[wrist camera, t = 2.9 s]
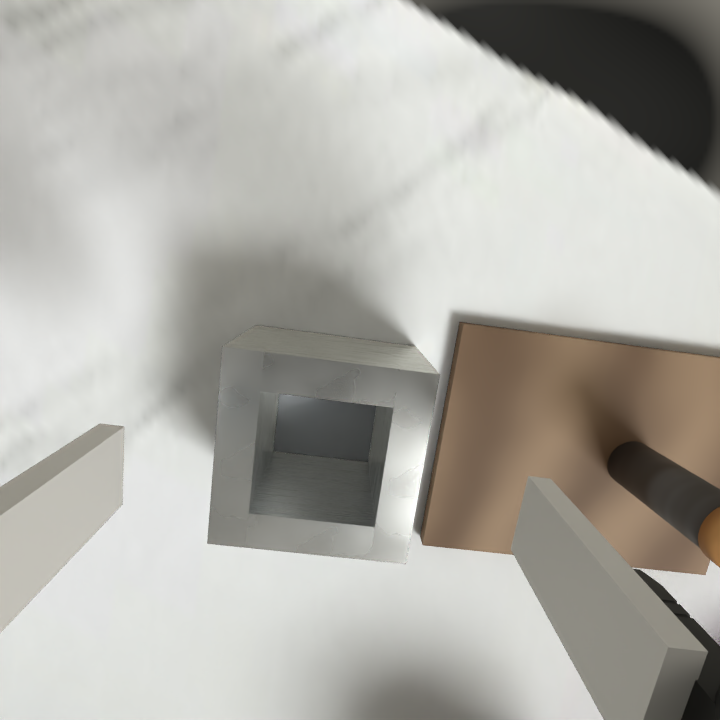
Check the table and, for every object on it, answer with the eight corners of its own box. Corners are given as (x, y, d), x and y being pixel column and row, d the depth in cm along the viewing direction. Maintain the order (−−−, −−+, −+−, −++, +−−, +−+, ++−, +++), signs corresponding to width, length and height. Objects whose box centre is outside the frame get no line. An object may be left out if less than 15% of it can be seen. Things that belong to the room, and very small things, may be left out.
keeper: (420, 536, 24) (453, 658, 17) (459, 321, 22) (519, 351, 14) (694, 565, 25) (843, 693, 18) (760, 362, 23) (966, 410, 15)
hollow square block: (242, 474, 23) (207, 543, 18) (255, 324, 22) (222, 346, 16) (391, 491, 24) (405, 564, 18) (415, 346, 22) (439, 374, 16)
